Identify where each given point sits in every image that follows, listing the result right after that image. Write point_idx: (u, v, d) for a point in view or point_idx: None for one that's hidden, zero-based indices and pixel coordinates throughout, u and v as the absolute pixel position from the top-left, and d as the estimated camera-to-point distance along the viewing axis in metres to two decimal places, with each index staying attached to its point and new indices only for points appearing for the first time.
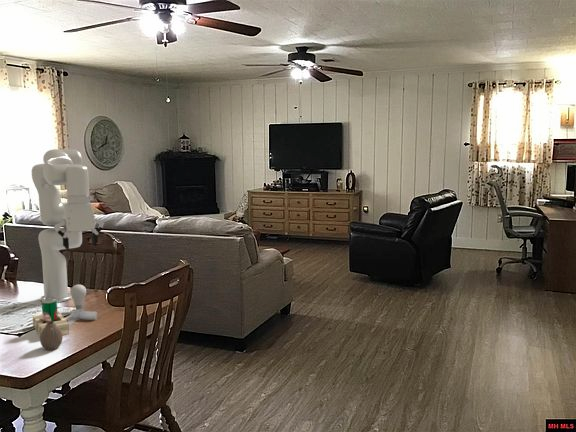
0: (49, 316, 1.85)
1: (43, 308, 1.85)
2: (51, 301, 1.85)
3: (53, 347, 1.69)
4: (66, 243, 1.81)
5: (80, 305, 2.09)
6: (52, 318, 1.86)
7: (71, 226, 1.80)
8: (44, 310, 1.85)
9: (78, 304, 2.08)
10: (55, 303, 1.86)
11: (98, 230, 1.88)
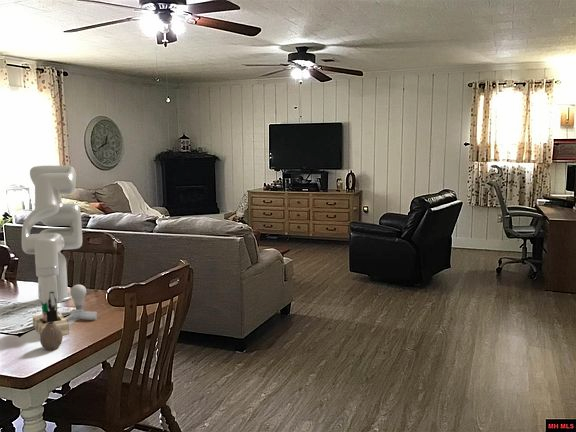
0: None
1: (43, 308, 1.85)
2: None
3: (53, 347, 1.69)
4: (55, 315, 1.86)
5: (80, 305, 2.09)
6: None
7: None
8: (44, 310, 1.85)
9: (78, 304, 2.08)
10: (55, 303, 1.86)
11: None
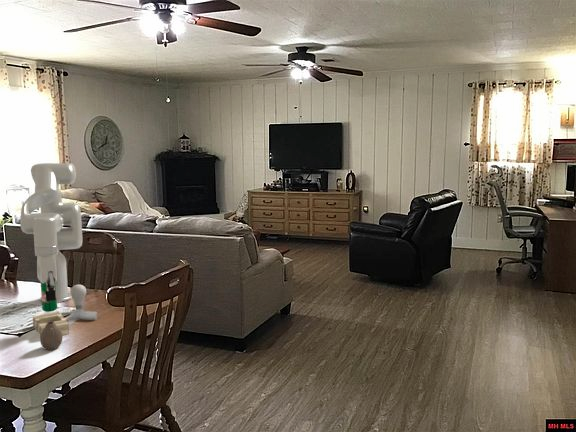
0: None
1: (42, 288, 1.84)
2: None
3: (53, 347, 1.69)
4: (54, 295, 1.85)
5: (80, 305, 2.09)
6: None
7: None
8: (43, 290, 1.84)
9: (78, 304, 2.08)
10: (54, 283, 1.86)
11: None
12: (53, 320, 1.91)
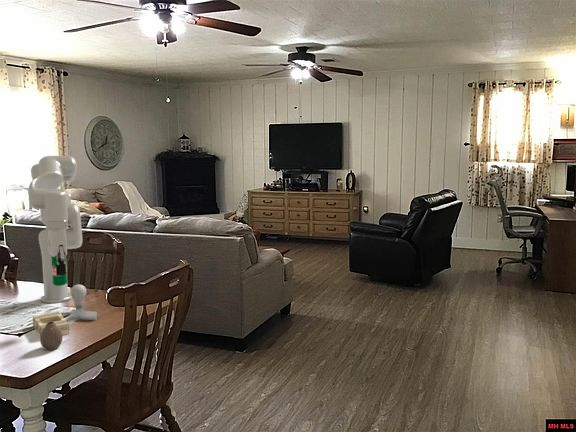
0: None
1: (52, 262, 1.86)
2: None
3: (53, 347, 1.69)
4: (64, 269, 1.87)
5: (80, 305, 2.09)
6: None
7: None
8: (53, 264, 1.86)
9: (78, 304, 2.08)
10: None
11: None
12: (53, 320, 1.91)
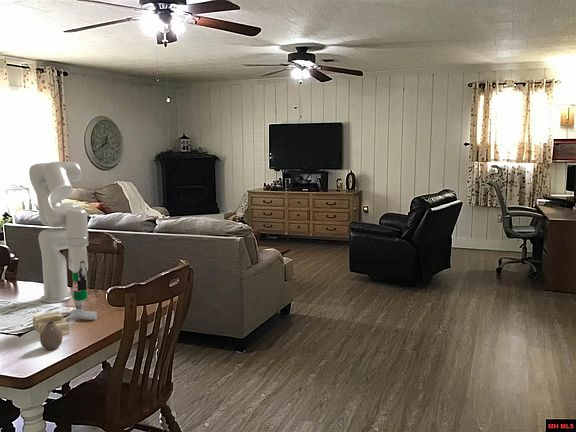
0: None
1: (73, 277, 1.92)
2: (81, 271, 1.92)
3: (53, 347, 1.69)
4: (85, 284, 1.93)
5: (80, 305, 2.09)
6: None
7: None
8: (75, 279, 1.92)
9: (78, 304, 2.08)
10: None
11: None
12: (53, 320, 1.91)
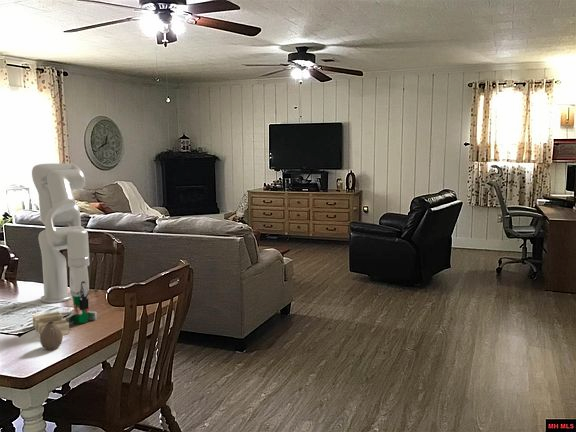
0: None
1: (74, 301, 1.93)
2: None
3: (53, 347, 1.69)
4: (87, 303, 1.93)
5: None
6: (82, 311, 1.94)
7: None
8: (75, 303, 1.93)
9: None
10: None
11: None
12: (53, 320, 1.91)
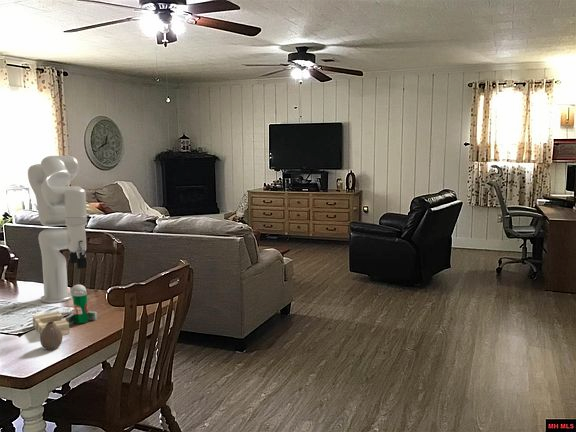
0: (80, 309, 1.94)
1: (74, 301, 1.93)
2: (82, 294, 1.94)
3: (53, 347, 1.69)
4: (85, 262, 1.90)
5: None
6: (82, 310, 1.94)
7: None
8: (75, 303, 1.93)
9: None
10: (86, 296, 1.95)
11: None
12: (53, 320, 1.91)
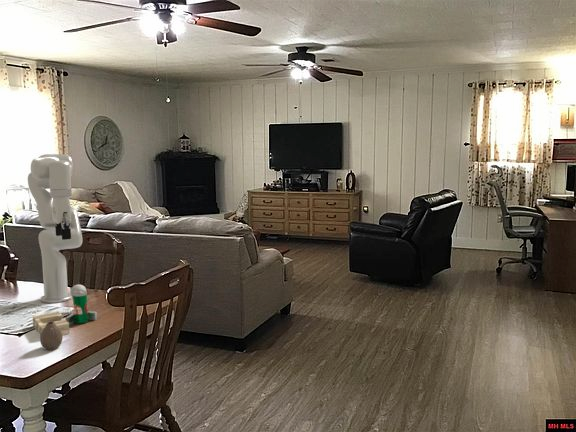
0: (80, 309, 1.94)
1: (74, 301, 1.93)
2: (82, 294, 1.94)
3: (53, 347, 1.69)
4: (69, 233, 1.94)
5: None
6: (82, 311, 1.94)
7: None
8: (75, 303, 1.93)
9: None
10: (86, 296, 1.95)
11: None
12: (53, 320, 1.91)
